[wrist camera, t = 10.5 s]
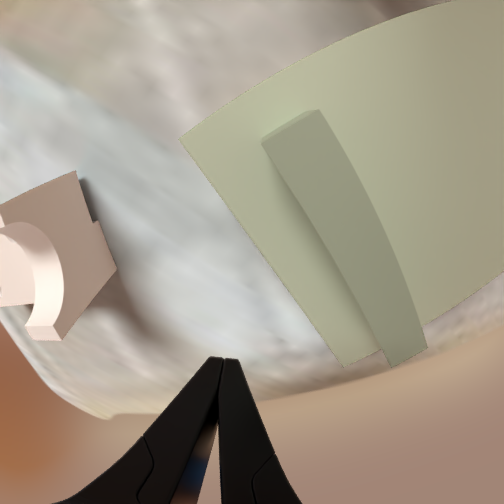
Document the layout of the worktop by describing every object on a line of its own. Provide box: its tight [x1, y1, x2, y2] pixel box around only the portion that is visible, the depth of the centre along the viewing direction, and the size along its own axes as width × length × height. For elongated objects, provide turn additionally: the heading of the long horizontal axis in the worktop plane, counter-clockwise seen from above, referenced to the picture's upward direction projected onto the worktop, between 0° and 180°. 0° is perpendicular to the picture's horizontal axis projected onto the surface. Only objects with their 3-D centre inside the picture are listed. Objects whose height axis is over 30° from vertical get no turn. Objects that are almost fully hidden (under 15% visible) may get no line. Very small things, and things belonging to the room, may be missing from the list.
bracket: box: [0, 170, 117, 341], centre depth 14 cm, size 13×7×8 cm, turn 102°
